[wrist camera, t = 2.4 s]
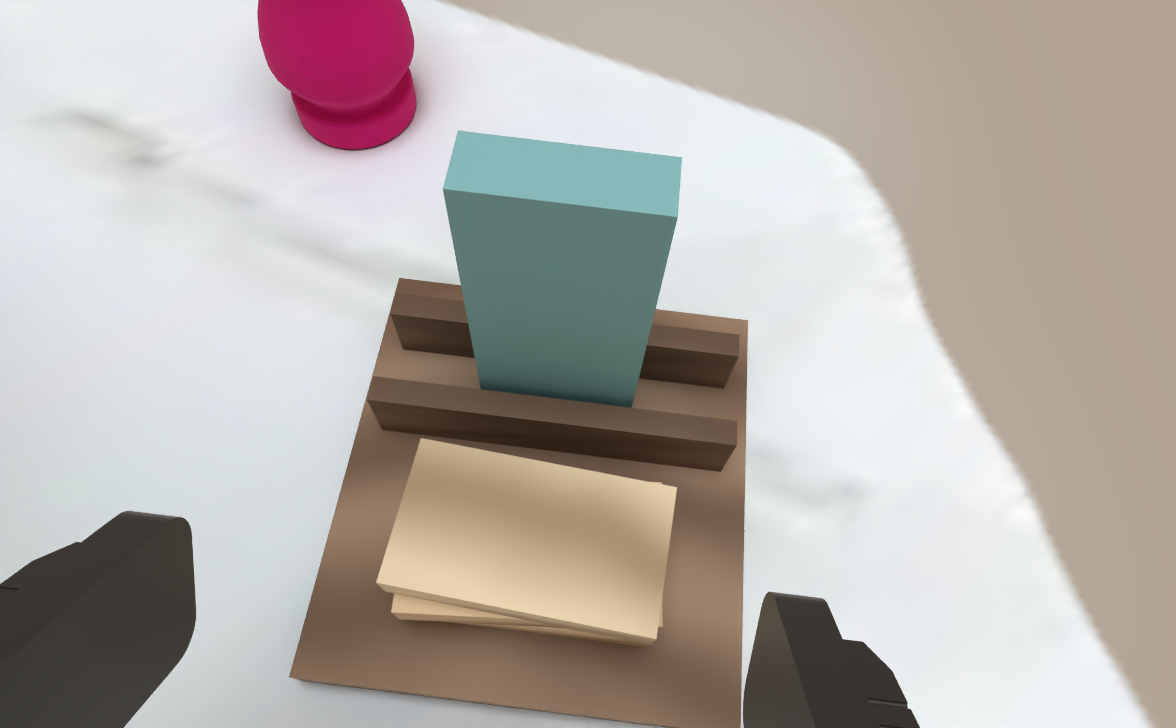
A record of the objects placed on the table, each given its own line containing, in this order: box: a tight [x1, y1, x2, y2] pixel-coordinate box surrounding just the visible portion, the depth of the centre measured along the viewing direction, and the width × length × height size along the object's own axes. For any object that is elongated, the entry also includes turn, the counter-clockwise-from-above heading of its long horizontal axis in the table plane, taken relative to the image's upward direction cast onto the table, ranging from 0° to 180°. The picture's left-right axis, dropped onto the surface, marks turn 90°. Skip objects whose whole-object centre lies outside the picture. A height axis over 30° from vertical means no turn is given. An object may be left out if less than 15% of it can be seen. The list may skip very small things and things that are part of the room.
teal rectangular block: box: [443, 131, 682, 408], centre depth 26 cm, size 2×6×14 cm, turn 84°
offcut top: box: [376, 438, 677, 645], centre depth 25 cm, size 5×9×2 cm, turn 80°
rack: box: [289, 278, 748, 728], centre depth 30 cm, size 17×16×4 cm
